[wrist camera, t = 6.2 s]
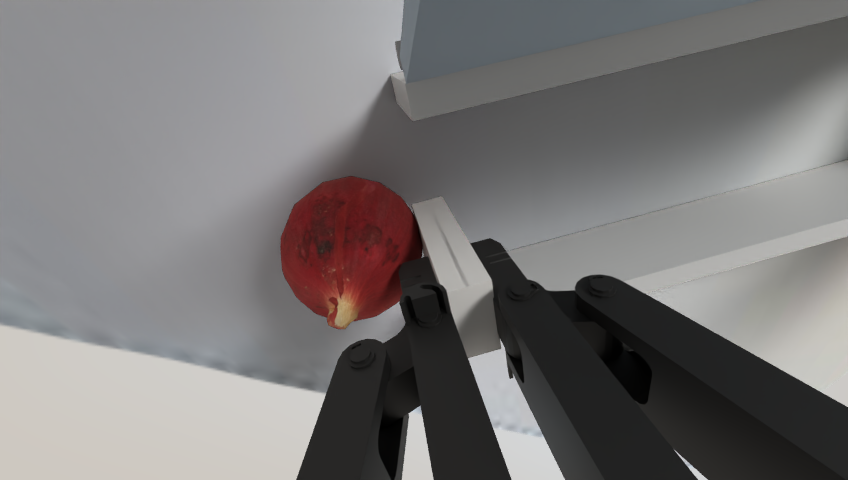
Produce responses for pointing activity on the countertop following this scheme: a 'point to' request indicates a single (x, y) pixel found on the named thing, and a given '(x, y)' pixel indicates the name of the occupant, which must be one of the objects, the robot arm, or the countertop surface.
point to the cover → (521, 28)
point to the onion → (348, 249)
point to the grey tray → (680, 225)
